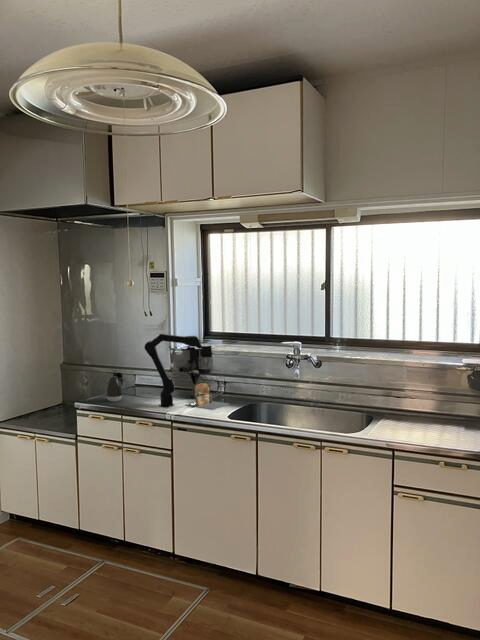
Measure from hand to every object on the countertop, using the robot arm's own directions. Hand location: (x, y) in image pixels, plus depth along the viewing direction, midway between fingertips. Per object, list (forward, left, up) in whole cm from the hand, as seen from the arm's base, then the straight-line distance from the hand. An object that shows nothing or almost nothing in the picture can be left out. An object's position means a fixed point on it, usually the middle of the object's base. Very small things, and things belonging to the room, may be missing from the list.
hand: (194, 384), depth 320 cm
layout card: (+6, +4, -12) cm, 14 cm away
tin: (-11, +20, -12) cm, 26 cm away
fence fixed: (+1, +8, -12) cm, 14 cm away
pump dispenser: (-49, -16, -12) cm, 53 cm away
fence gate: (+5, +1, -11) cm, 12 cm away
